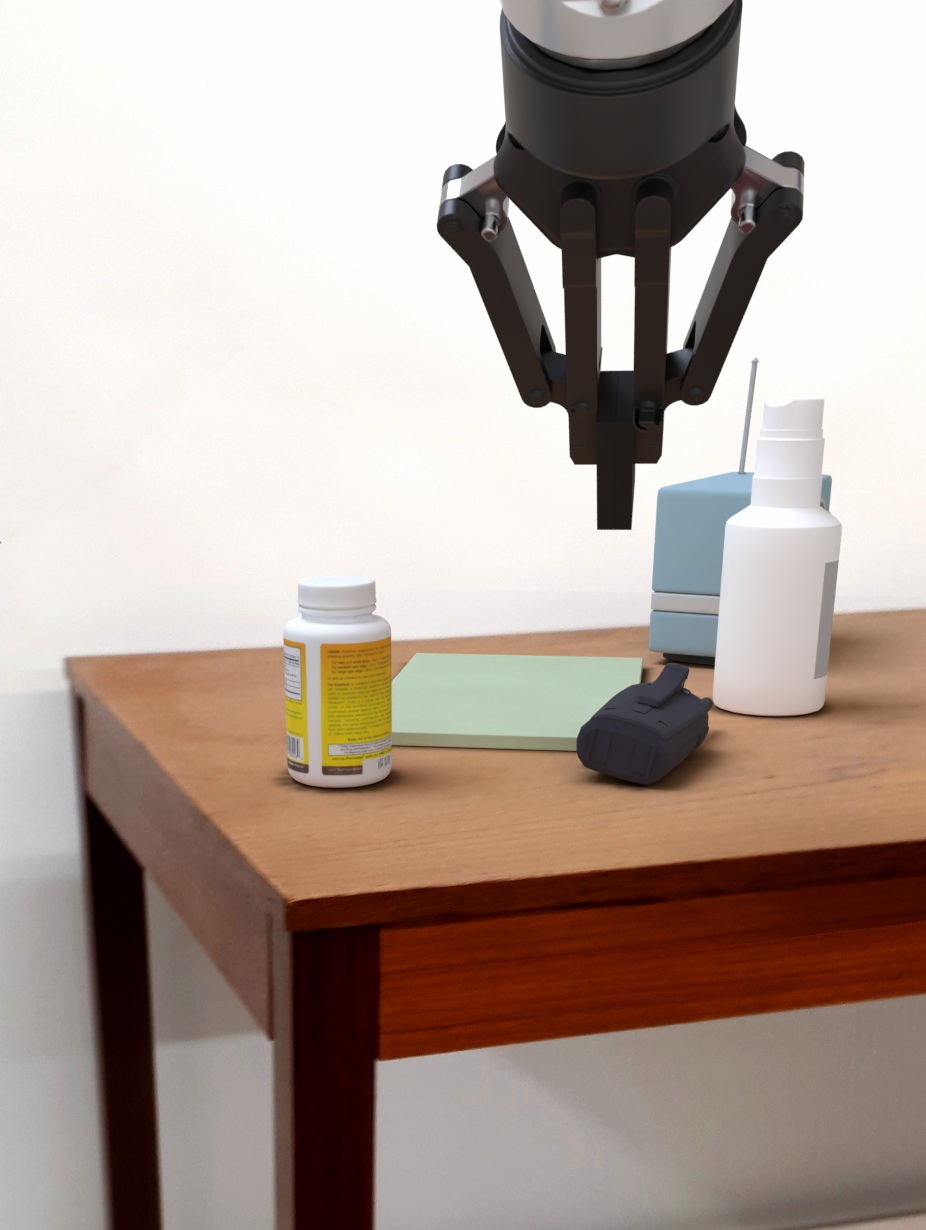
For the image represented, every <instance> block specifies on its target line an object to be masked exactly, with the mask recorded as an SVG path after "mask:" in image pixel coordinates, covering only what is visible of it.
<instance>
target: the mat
mask: <svg viewBox="0 0 926 1230" xmlns="http://www.w3.org/2000/svg"><path fill="white" fill-rule="evenodd" d="M643 668H644V657H629V656H627V657H624V656H623V657H620V656H581V655H579V656H575V655H535V654H534V655H530V654H529V655H528V654H527V655H525V654H488V653H487V654H484V653H483V654H482V653H442V652H441V653H439V652H438V653H436V652H435V653H434V652H428V653H426V652H416V653H415V654H414V655H413V656H412V658H410V660H409V661H408V662H407V663H406V664H405V666H403V668H402V669H401V671H400V672H399V673H398V674H397V675H395V677H394V678H393V680H392V746H403V747H405V746H407V747H434V748H435V747H436V748H467V749H468V748H469V749H497V750H498V749H499V750H502V749H503V750H528V751H530V750H532V751H534V750H535V751H559V752H560V751H565V752H576V742H577V737H578V734H579V732H580V729H581V727H582V726H583V725H584V724H585V723H586V722H588V721H589V720H590V719H591V717H592V716H593V715H594V714H595V713H596V712H597V711H598V710H599V709H600V708H601V707H603V706H604V705H605V704H606V703H607V702H608V701H609V700H610V699H611V698H612V697H614V696H615V695H616V694H618V693H619V692H621V691H622V690H624V689H625V688H627V687H629V686H631V685H634V684H640V683H642V677H643V676H642V675H643V670H644V669H643Z"/></svg>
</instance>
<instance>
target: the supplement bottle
mask: <svg viewBox="0 0 926 1230" xmlns="http://www.w3.org/2000/svg"><path fill="white" fill-rule="evenodd" d="M376 592H377V591H376V580H375V579H374V578H372V577H369V576H363V575H354V574H353V575H352V574H351V575H349V574H333V575H332V574H331V575H330V574H329V575H327V574H326V575H317V576H315V575H314V576H308V577H304V578H301V579H299V580H298V582H297V601H296V603H297V605H298V606H297V612H298V613H300V614H301V615H299V616H296V617H293V618H291V619H290V620H288V621H287V622H286V624H285V625H284V627H283V634H282V635H283V638H282V639H283V668H284V700H285V706H284V707H285V727H286V729H285V730H286V731H285V733H286V735H285V736H286V762H287V771H288V773H289V775H290V777H291V778H293V779H294V780H295V781H296V782H299V783H301V784H304V785H307V786H311V787H317V788H318V787H319V788H332V789H333V788H334V789H338V788H339V789H340V788H341V789H342V788H355V787H357V788H358V787H363V786H368V785H372V784H375V783H378V782H380V781H383V780H384V779H386V778H387V777H388V776H389V774H390V773H391V771H392V767H393V766H392V765H393V745H392V681H393V680H392V678H393V677H392V676H393V675H392V628H391V624H390V622H389V620H387V619H386V618H385V617H383V616H381V615H378V614H373V612H374V611H376V609H377V604H376V603H377V601H378V600H377V596H376V594H377V593H376Z"/></svg>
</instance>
